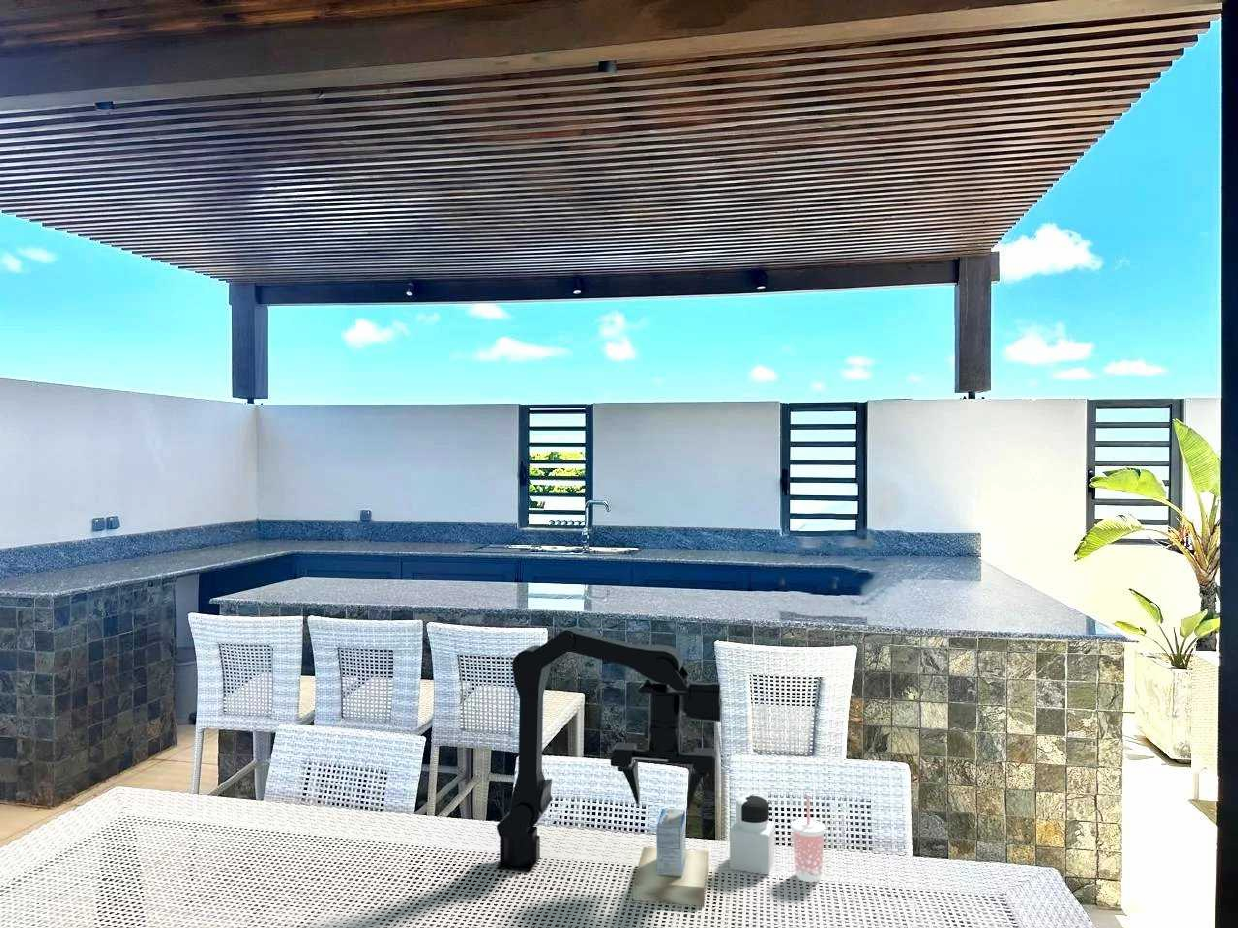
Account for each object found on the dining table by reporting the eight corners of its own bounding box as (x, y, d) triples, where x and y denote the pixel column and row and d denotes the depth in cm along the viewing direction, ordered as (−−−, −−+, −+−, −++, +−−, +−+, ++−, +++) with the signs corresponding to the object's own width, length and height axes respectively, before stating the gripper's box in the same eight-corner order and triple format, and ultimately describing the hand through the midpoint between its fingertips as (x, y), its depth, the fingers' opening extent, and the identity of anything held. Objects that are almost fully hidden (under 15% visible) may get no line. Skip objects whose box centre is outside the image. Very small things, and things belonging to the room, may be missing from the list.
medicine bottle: (774, 859, 151) (774, 794, 151) (768, 875, 144) (768, 808, 145) (737, 853, 153) (736, 790, 154) (729, 869, 146) (729, 803, 147)
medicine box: (682, 877, 137) (682, 826, 137) (656, 875, 137) (656, 824, 138) (685, 857, 144) (685, 808, 145) (661, 855, 145) (661, 807, 145)
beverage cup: (827, 885, 140) (826, 804, 141) (791, 882, 142) (791, 801, 142) (825, 870, 146) (824, 792, 147) (791, 866, 148) (790, 789, 148)
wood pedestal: (633, 899, 135) (633, 881, 135) (643, 863, 149) (643, 846, 149) (704, 905, 133) (704, 887, 133) (708, 868, 147) (708, 851, 147)
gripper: (718, 709, 151) (717, 793, 150) (621, 703, 154) (619, 786, 153) (715, 725, 140) (714, 816, 139) (610, 719, 143) (609, 807, 142)
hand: (663, 805), depth 144 cm, fingers open, 9 cm apart
